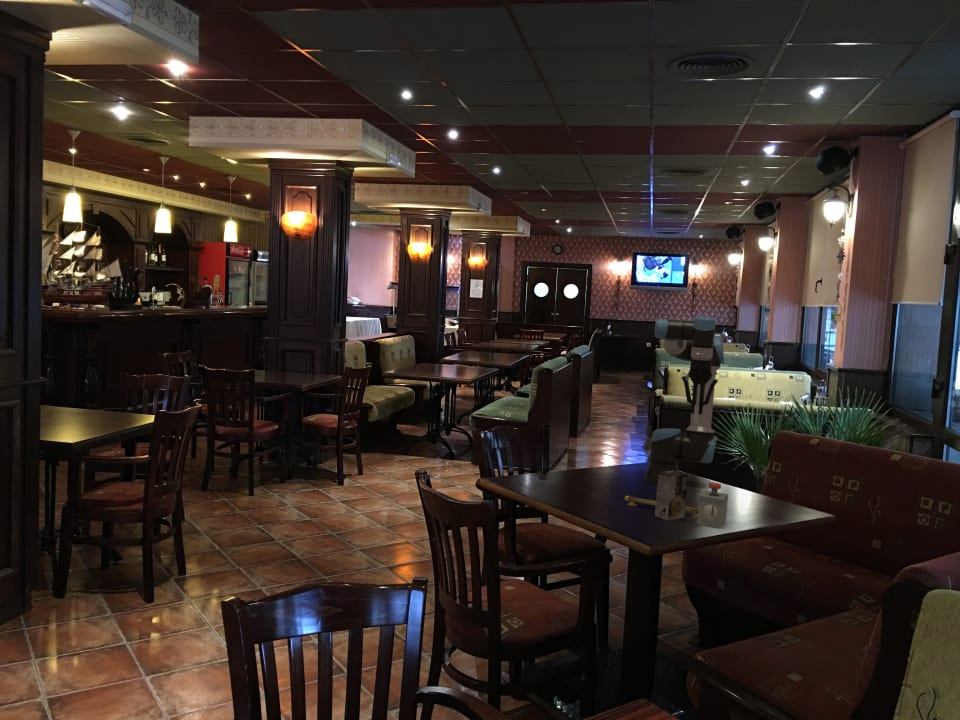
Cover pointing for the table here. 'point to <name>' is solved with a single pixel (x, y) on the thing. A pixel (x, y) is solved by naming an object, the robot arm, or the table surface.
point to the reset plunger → (714, 488)
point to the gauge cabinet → (712, 509)
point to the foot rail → (651, 502)
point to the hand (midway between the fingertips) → (696, 422)
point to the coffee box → (671, 495)
